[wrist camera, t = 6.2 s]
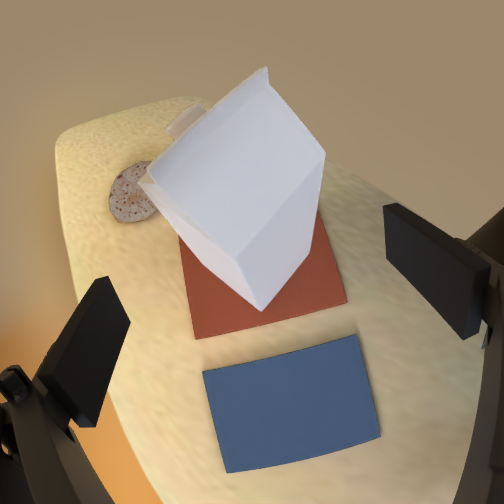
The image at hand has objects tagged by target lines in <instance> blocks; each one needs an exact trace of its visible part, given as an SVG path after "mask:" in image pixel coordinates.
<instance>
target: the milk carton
mask: <svg viewBox="0 0 504 504" xmlns="http://www.w3.org/2000/svg"><path fill="white" fill-rule="evenodd" d="M165 131H166V132H167V133H168V134H169V135H170V136H171V137H172V138H173V140H174V141H173V142H172V143H171V144H170V145H169V146H168V147H167V148H166V149H165V150H164V151H163V152H162V153H161V154H160V155H158V156H157V157H156V158H155V159H154V160H153V161H152V162H151V163H150V164H149V165H148V166H147V169H146V170H147V172H146V173H145V174H144V175H143V176H142V177H141V178H140V180H139V181H138V182H137V183H138V184H139V186H140V187H141V188H142V189H143V191H144V192H145V193H146V195H147V196H148V197H149V198H150V200H151V201H152V202H153V203H154V205H155V206H156V207H157V209H158V210H159V211H160V212H161V214H162V215H163V216H164V217H165V219H166V220H167V221H168V222H169V224H170V225H171V226H172V227H173V229H174V230H175V231H176V232H177V234H178V235H179V236H180V237H181V238H182V240H183V241H184V242H185V243H186V245H187V246H188V247H189V248H190V249H191V251H192V252H193V253H194V254H195V256H196V257H197V258H198V259H199V260H200V262H201V263H202V264H203V265H204V266H205V267H206V268H208V269H209V270H210V271H211V272H212V273H214V274H215V275H216V276H217V277H218V278H220V279H221V280H222V281H223V282H225V283H226V284H227V285H228V286H229V287H231V288H232V289H233V290H234V291H236V292H237V293H238V294H239V295H240V296H242V297H243V298H244V299H245V300H247V301H248V302H249V303H250V304H252V305H253V306H254V307H255V308H257V309H258V310H259V311H263V310H264V309H265V308H266V306H267V305H268V304H269V303H270V302H271V300H272V299H273V298H274V297H275V295H276V294H277V293H278V292H279V291H280V289H281V288H282V287H283V286H284V284H285V283H286V282H287V281H288V279H289V278H290V277H291V276H292V274H293V273H294V272H295V271H296V269H297V268H298V267H299V266H300V264H301V263H302V262H303V261H304V259H305V258H306V257H307V256H308V254H309V252H310V248H311V242H312V236H313V231H314V225H315V219H316V213H317V207H318V200H319V194H320V188H321V181H322V174H323V167H324V160H325V154H326V153H325V151H324V150H323V148H322V147H321V146H320V144H319V143H318V142H317V141H316V139H315V138H314V137H313V135H312V134H311V133H310V132H309V131H308V129H307V128H306V127H305V125H304V124H303V123H302V122H301V120H300V119H299V118H298V117H297V116H296V115H295V113H294V112H293V111H292V110H291V108H290V107H289V106H288V105H287V104H286V102H285V101H284V100H283V99H282V98H281V97H280V95H279V94H278V93H277V92H276V91H275V90H274V89H273V87H272V86H271V85H270V84H269V79H268V69H267V67H265V66H263V67H261V68H260V69H258V70H257V71H256V72H254V73H253V74H252V75H250V76H249V77H248V78H247V79H245V80H244V81H243V82H241V83H240V84H239V85H238V86H236V87H235V88H234V89H233V90H231V92H229V93H228V94H227V95H225V96H224V97H223V98H222V99H220V100H219V101H218V102H217V103H216V104H215V105H213V106H212V107H211V108H210V109H209V110H207V111H206V110H205V109H204V107H203V106H202V105H201V104H200V103H199V102H197V103H194V104H193V105H191V106H190V107H188V108H187V109H185V110H184V111H183V112H182V113H180V114H179V115H178V116H177V117H176V118H175V119H173V120H172V121H171V122H170V123H169V124H168V125H167V127H166V128H165Z"/></svg>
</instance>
